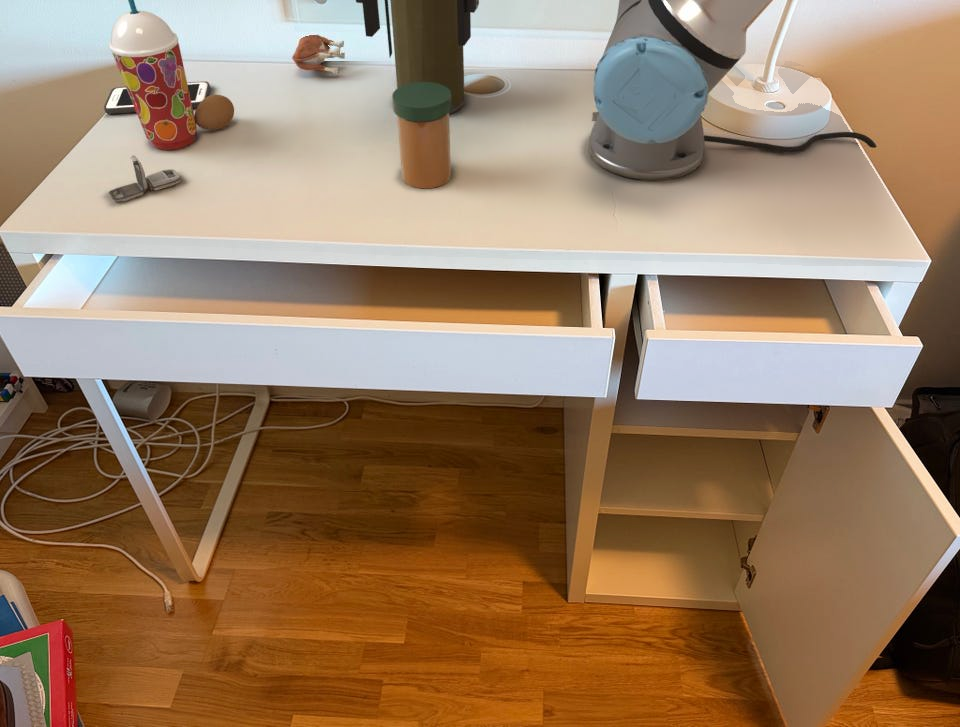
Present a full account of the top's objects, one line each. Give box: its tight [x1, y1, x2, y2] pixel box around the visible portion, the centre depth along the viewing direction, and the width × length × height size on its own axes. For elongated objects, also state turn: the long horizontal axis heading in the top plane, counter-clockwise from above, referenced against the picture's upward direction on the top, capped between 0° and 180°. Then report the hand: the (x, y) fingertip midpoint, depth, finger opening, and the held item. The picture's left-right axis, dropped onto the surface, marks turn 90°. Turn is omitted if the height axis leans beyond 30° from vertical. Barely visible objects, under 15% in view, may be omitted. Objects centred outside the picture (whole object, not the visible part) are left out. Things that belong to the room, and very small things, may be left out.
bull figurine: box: [291, 34, 346, 74], centre depth 122 cm, size 4×13×8 cm
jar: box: [396, 114, 452, 189], centre depth 95 cm, size 6×6×10 cm
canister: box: [384, 0, 467, 115], centre depth 107 cm, size 11×10×20 cm
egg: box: [194, 94, 235, 131], centre depth 107 cm, size 4×4×6 cm
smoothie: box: [108, 0, 198, 151], centre depth 98 cm, size 8×8×20 cm
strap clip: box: [108, 154, 181, 203], centre depth 95 cm, size 8×3×4 cm, turn 126°
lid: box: [391, 82, 452, 122], centre depth 91 cm, size 7×7×2 cm
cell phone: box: [103, 81, 211, 115], centre depth 114 cm, size 8×15×1 cm, turn 100°
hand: (418, 36), depth 86 cm, fingers open, 10 cm apart
